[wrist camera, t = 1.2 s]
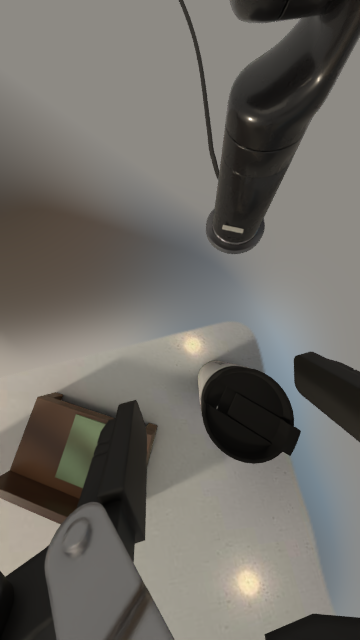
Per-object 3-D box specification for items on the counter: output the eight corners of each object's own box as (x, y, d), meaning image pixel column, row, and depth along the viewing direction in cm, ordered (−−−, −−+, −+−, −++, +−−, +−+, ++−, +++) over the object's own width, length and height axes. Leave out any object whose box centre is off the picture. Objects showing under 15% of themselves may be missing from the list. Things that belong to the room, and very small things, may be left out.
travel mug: (225, 406, 31) (278, 494, 11) (191, 386, 32) (184, 432, 12) (242, 373, 32) (318, 400, 12) (208, 354, 33) (226, 350, 13)
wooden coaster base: (55, 392, 34) (20, 401, 27) (157, 425, 31) (146, 445, 24) (30, 462, 32) (-16, 491, 25) (137, 504, 29) (119, 550, 22)
